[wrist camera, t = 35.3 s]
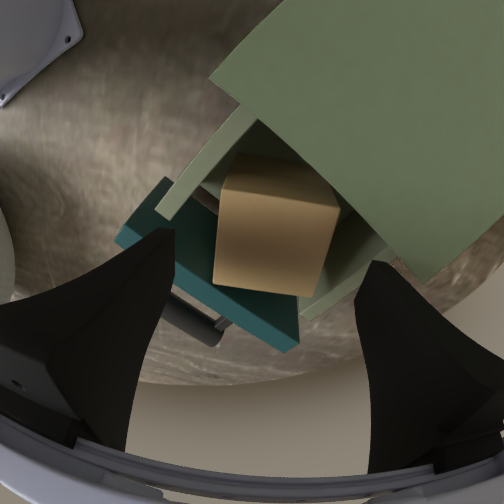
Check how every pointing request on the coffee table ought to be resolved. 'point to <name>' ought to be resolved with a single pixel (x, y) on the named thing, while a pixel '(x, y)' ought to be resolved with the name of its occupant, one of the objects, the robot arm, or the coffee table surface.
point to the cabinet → (388, 111)
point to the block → (273, 226)
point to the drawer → (204, 243)
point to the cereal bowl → (6, 262)
